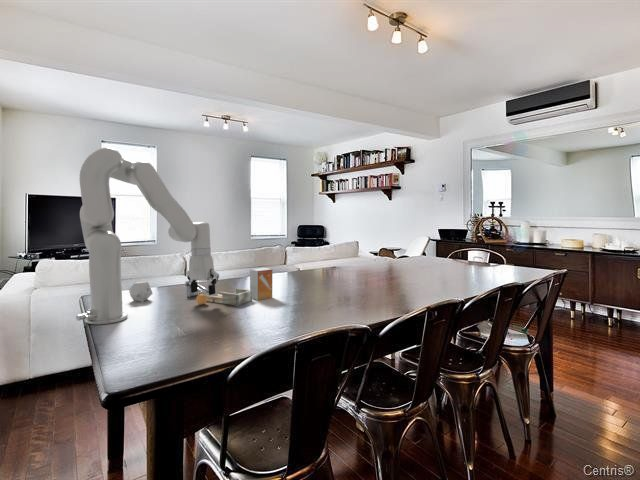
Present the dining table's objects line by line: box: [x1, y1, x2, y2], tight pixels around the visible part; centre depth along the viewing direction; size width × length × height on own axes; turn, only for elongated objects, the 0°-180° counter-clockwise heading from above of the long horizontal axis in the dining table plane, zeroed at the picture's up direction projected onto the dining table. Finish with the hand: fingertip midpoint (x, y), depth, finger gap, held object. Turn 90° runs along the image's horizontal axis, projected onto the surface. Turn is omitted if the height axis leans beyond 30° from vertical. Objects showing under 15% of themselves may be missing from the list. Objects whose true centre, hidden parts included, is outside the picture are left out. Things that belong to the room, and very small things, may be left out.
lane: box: [206, 288, 253, 307], centre depth 155 cm, size 10×18×4 cm, turn 64°
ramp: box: [184, 280, 217, 298], centre depth 161 cm, size 5×15×7 cm, turn 64°
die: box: [128, 281, 153, 303], centre depth 154 cm, size 8×9×10 cm
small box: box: [249, 267, 273, 301], centre depth 160 cm, size 8×6×13 cm
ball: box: [195, 293, 208, 306], centre depth 148 cm, size 4×4×4 cm
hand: (203, 293), depth 149 cm, fingers open, 9 cm apart
